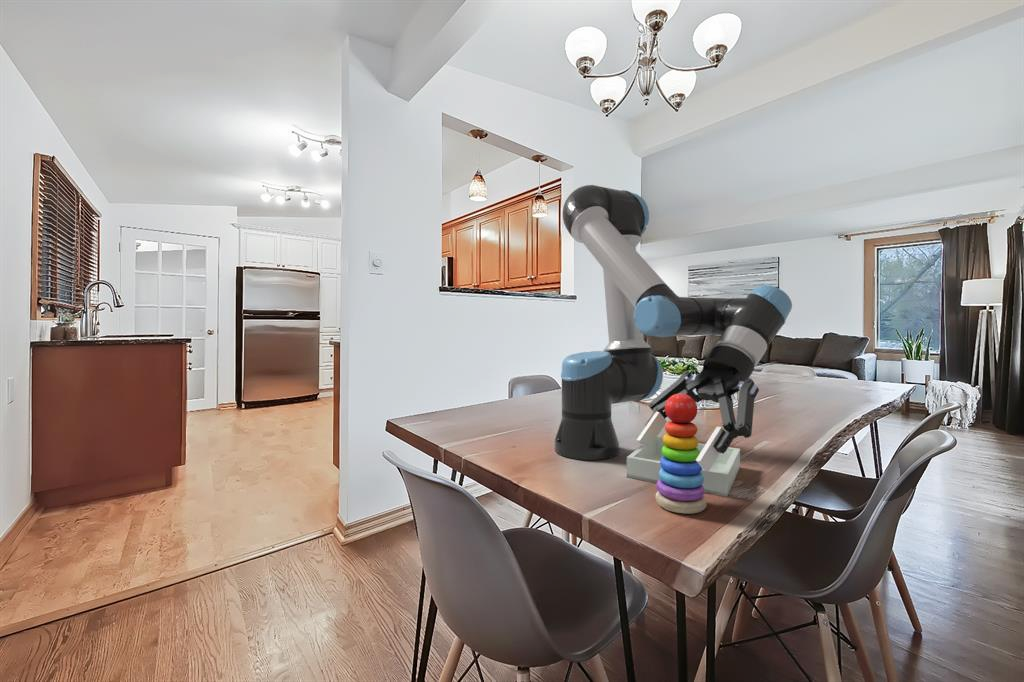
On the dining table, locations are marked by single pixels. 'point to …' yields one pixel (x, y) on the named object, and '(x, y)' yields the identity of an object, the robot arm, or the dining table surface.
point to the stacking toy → (680, 460)
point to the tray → (715, 481)
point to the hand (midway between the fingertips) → (669, 454)
